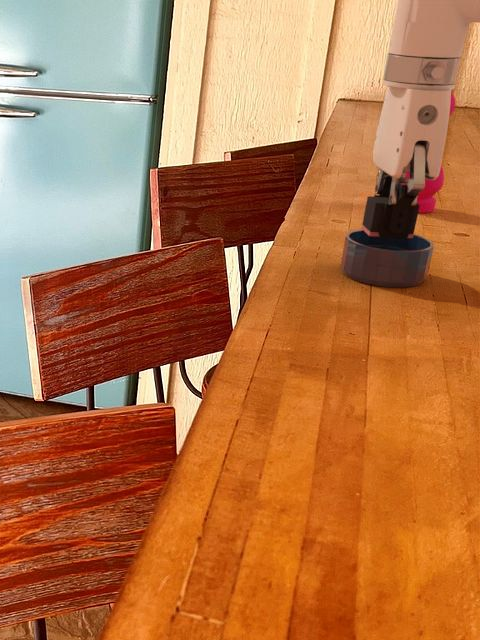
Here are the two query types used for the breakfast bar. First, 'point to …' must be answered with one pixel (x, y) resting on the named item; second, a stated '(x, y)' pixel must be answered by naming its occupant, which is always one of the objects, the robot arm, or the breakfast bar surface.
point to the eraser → (375, 216)
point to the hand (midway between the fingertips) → (387, 231)
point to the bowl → (386, 259)
